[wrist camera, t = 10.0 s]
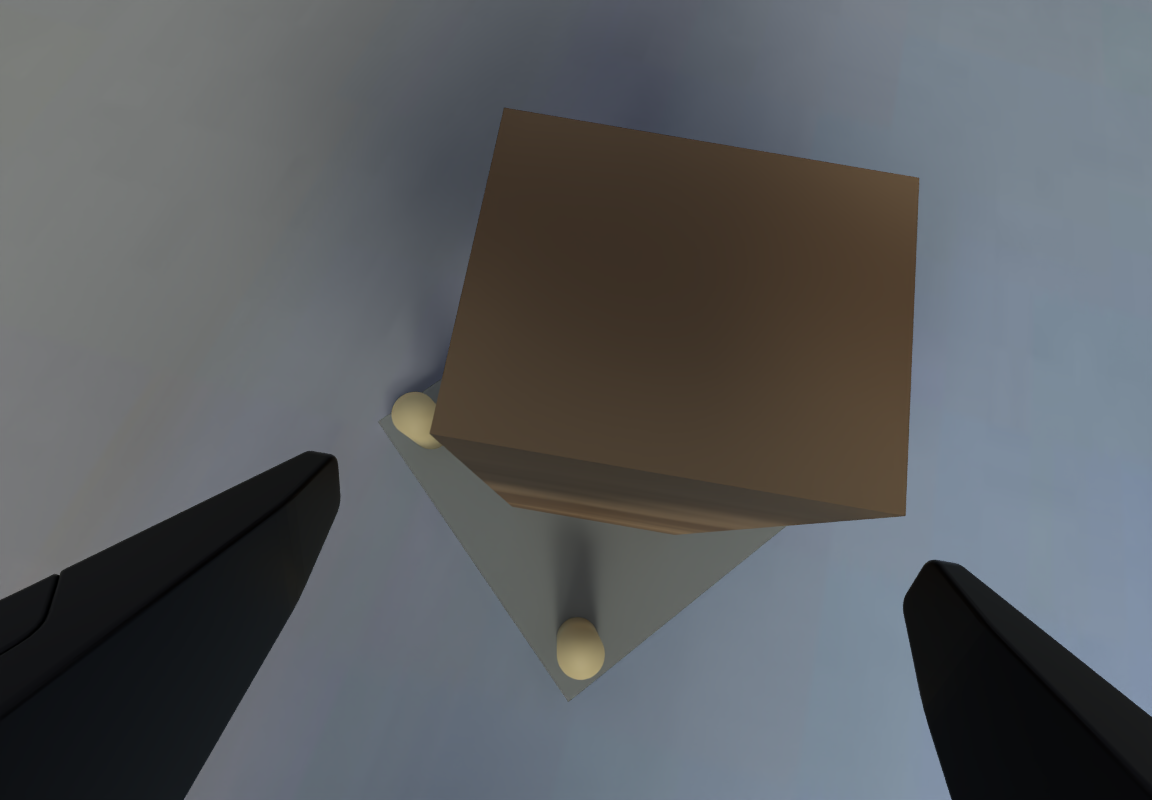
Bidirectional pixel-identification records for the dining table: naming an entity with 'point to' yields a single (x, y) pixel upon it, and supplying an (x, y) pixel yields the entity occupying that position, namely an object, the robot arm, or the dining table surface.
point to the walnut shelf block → (683, 332)
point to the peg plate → (565, 559)
